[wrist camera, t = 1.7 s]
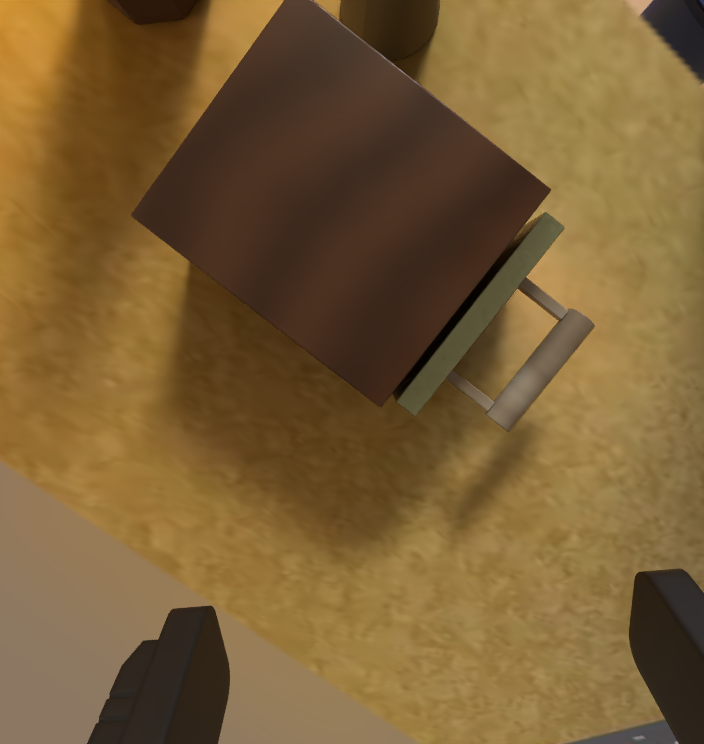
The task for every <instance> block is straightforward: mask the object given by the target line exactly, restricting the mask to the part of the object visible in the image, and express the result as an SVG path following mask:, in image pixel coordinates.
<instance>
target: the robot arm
mask: <svg viewBox="0 0 704 744" xmlns="http://www.w3.org/2000/svg"><path fill="white" fill-rule="evenodd" d="M629 640H630V647H631V651H632V655H633V658H634V661H635V663H636V666H637V668H638V670H639V672H640V674H641V675H642V677H643V679H644V681H645V683H646V684H647V686H648V688H649V690H650V692H651V694H652V695H653V697H654V699H655V701H656V703H657V705H658V706H659V708H660V710H661V712H662V714H663V716H664V717H665V719H666V721H667V723H668V725H669V726H670V728H671V730H672V732H673V734H674V736H675V737H676V739H677V741H678V743H679V744H704V593H703V592H702V590H701V589H700V588H699V587H698V585H697V584H696V583H695V581H694V580H693V579H692V578H691V576H690V575H689V574H688V573H687V572H686V571H684V570H683V569H669V570H657V571H645V572H638V573H637V574H636V576H635V581H634V590H633V599H632V608H631V618H630V627H629ZM229 686H230V670H229V663H228V658H227V654H226V651H225V647H224V643H223V639H222V635H221V631H220V627H219V623H218V619H217V616H216V612H215V609H214V608H213V607H212V606H201V607H188V608H177V609H172V610H171V611H170V613H169V614H168V617H167V619H166V621H165V624H164V626H163V629H162V632H161V634H160V637H159V639H158V640H147V641H143V642H142V643H141V644H140V645H139V646H138V648H137V649H136V650H135V651H134V652H133V653H132V654H131V656H130V657H129V658H128V659H127V660H126V661H125V663H124V664H123V665H122V667H121V669H120V671H119V673H118V676H117V678H116V680H115V682H114V685H113V687H112V689H111V691H110V697H109V699H107V700H106V703H105V705H104V707H103V709H102V711H101V714H100V716H99V722H98V723H97V724H96V725H95V727H94V729H93V732H92V734H91V736H90V738H89V741H88V743H87V744H218V740H219V736H220V732H221V727H222V723H223V718H224V714H225V709H226V705H227V700H228V695H229Z"/></svg>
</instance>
